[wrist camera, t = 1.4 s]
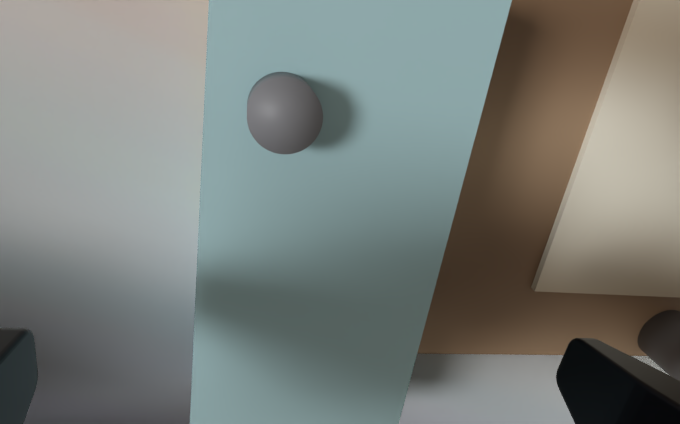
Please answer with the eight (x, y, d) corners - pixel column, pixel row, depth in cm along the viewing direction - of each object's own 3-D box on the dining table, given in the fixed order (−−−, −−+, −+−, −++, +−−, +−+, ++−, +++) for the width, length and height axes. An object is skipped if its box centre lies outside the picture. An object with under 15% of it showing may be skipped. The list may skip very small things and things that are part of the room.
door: (353, 374, 16) (391, 510, 12) (201, 374, 15) (182, 523, 11) (433, -10, 12) (541, -14, 7) (224, -48, 11) (208, -81, 6)
